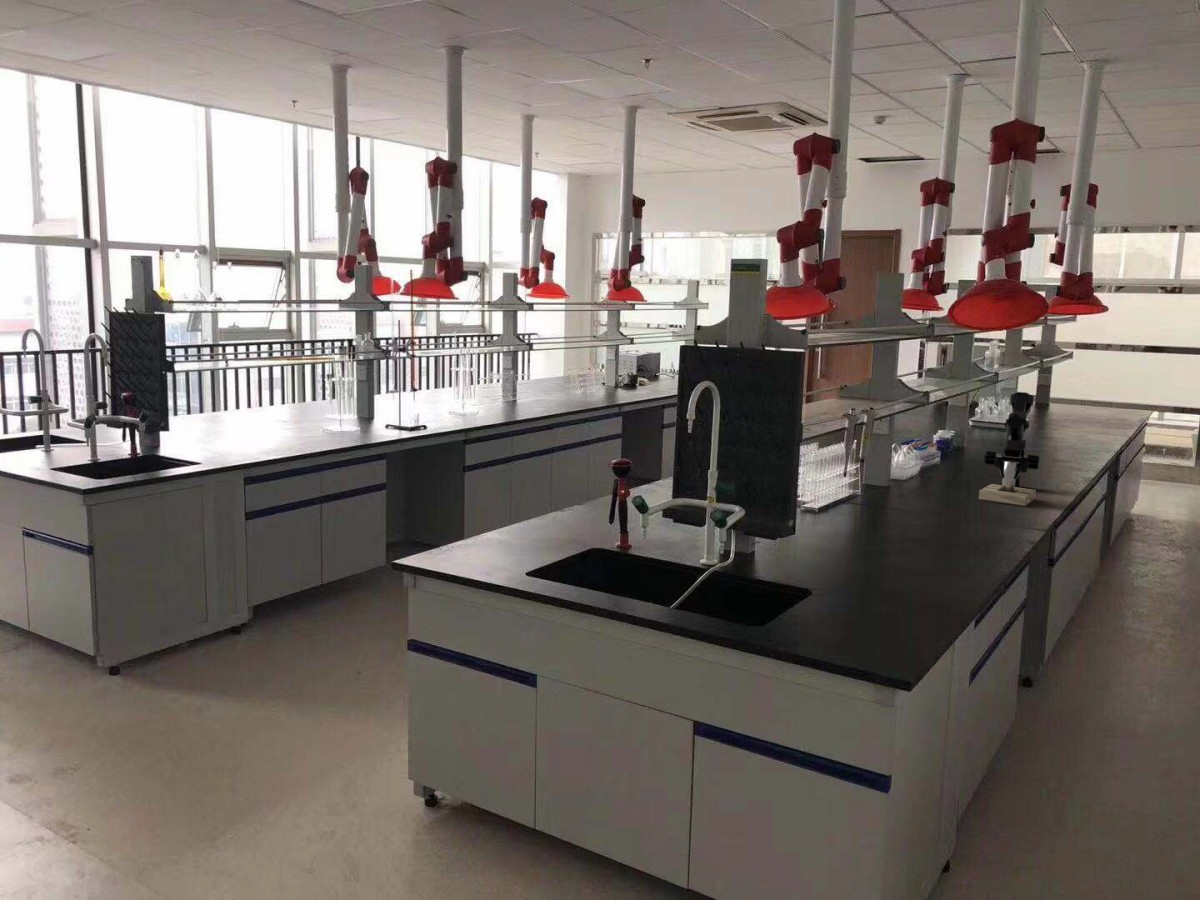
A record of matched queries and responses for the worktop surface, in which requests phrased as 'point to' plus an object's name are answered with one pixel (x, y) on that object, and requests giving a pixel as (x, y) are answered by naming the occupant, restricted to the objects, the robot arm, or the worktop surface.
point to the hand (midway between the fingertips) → (1008, 478)
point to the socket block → (1007, 495)
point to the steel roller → (1009, 476)
